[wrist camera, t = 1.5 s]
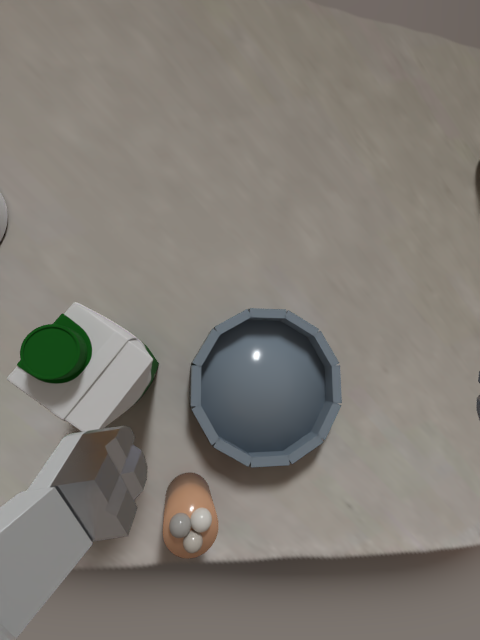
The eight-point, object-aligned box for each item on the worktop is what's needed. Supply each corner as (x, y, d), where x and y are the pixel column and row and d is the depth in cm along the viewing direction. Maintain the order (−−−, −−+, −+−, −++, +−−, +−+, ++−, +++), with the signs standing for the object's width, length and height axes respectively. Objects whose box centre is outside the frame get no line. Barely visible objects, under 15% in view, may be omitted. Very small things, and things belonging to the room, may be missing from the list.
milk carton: (114, 322, 44) (65, 284, 25) (169, 362, 45) (164, 357, 25) (68, 376, 42) (-24, 382, 23) (127, 418, 43) (86, 459, 23)
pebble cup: (164, 521, 42) (161, 569, 32) (166, 473, 43) (163, 506, 32) (209, 517, 43) (220, 563, 33) (210, 471, 44) (220, 502, 34)
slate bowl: (188, 462, 43) (189, 470, 40) (191, 311, 46) (192, 306, 43) (332, 455, 47) (344, 462, 44) (326, 315, 50) (337, 311, 47)
